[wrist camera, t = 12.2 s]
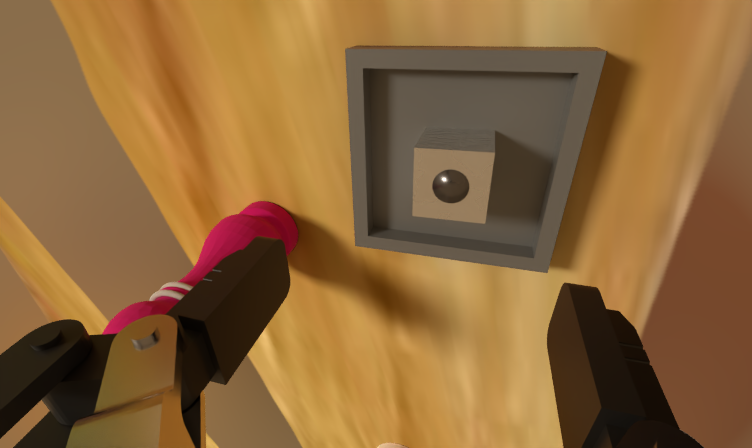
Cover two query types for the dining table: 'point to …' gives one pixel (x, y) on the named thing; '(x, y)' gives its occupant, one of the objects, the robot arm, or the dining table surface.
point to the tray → (469, 111)
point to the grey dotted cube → (453, 174)
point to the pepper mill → (215, 256)
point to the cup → (391, 445)
